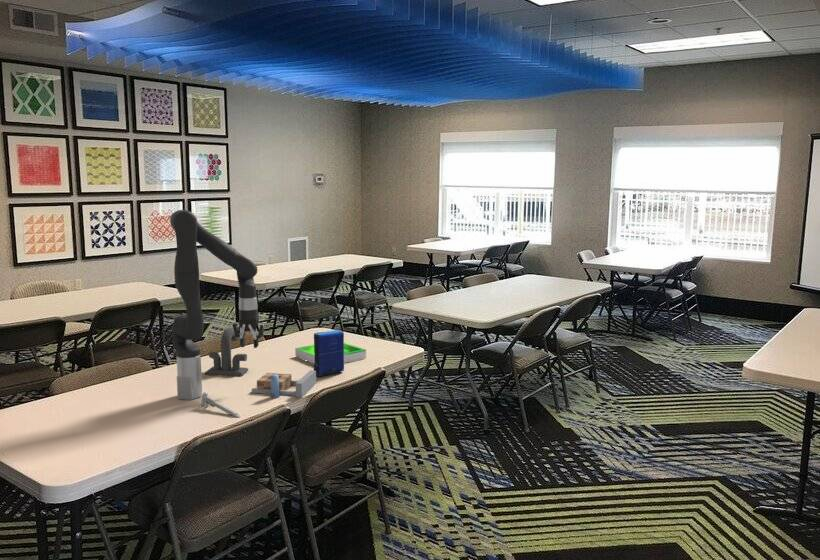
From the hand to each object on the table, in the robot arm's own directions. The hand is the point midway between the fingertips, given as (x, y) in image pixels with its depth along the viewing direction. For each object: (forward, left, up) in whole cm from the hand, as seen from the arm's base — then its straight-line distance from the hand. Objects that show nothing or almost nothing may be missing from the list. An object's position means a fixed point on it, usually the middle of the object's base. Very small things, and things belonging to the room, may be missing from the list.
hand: (249, 347), depth 272 cm
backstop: (0, -15, -17) cm, 23 cm away
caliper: (-30, -1, -18) cm, 35 cm away
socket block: (0, -11, -17) cm, 20 cm away
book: (+24, -27, -18) cm, 40 cm away
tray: (+50, -20, -18) cm, 57 cm away
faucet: (+20, +19, -18) cm, 33 cm away
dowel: (-10, -15, -17) cm, 25 cm away
